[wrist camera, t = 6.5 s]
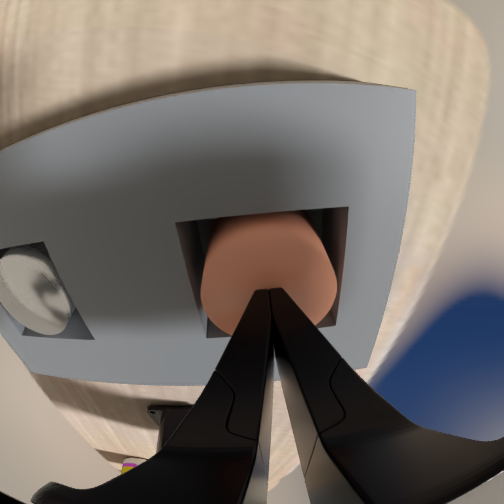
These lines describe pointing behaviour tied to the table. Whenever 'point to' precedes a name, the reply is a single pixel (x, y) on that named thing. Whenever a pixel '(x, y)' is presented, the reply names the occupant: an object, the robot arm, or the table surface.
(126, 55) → the table surface
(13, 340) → the panel
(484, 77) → the table surface
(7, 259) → the steel plunger
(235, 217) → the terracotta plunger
